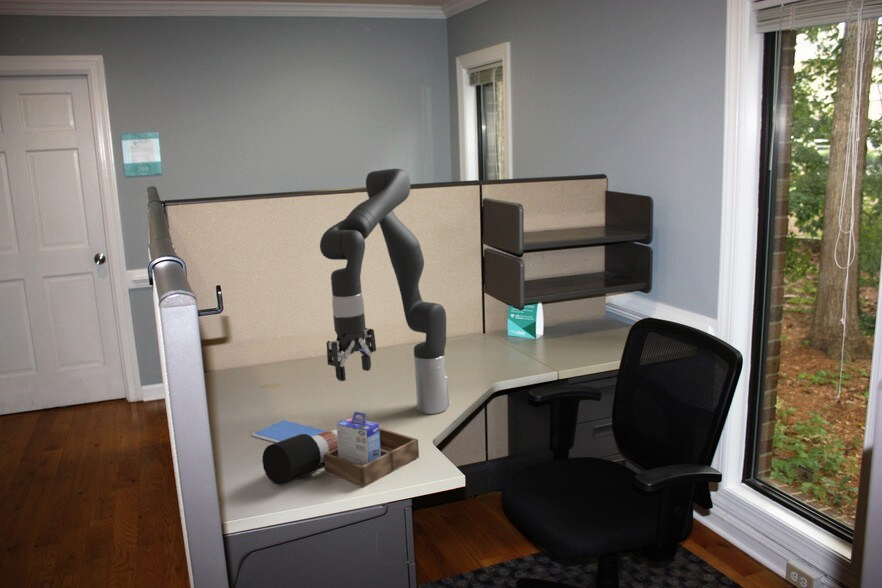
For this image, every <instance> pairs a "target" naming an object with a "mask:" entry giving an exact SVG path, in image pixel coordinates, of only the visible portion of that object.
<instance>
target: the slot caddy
mask: <svg viewBox="0 0 882 588" xmlns="http://www.w3.org/2000/svg"><path fill="white" fill-rule="evenodd" d="M379 434H380V451H381V457H379V458H377V459H375V460H373V461H371V462H369V463H367V464H365V465H363V466H361V465H358V464H355V463H353V462H350V461H347V460H344V459H341V458H339V457H338V448H336V449H334V450H332V451H330V452H328V453H326V454H324V458H325V462H324V467H325V473H326V474H328V475H329V476H333V477H335V478H336V477H337V478H338V479H341V480H343V481H345V482H346V481H347V482H349V483H351V484H353V485H357V486H359V487H362V488H365V487H367V486H369V485H370V484H373V483H375V482H376V481H378V480H379V479H382V478H384V477H386V476H388V475H389V474H391V473H393V472H395V471H397V470H399V469H400V468H402V467H405V466H406V465H408V464H409V463H412V462H413V461H415V460H417V459H419V458H420V451H419V450H420V449H419V448H420V446H419V438H415V437H412V436H411V437H410V436H407V435H405V434H402V433H398V432H396V431H391V430H389V429H386V428H383V427H382V428H381V427H379Z"/></svg>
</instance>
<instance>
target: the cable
mask: <svg viewBox="0 0 882 588" xmlns="http://www.w3.org/2000/svg"><path fill="white" fill-rule="evenodd" d="M336 448H338V441H337V428H335V429H331V430H326V432H323V433H321V434H318V435H315V436H312V437H311V436H309V435H307V434H300V435H297V436H294V437H291V438H288V439H285V440H283V441H280V442H277V443H276V442H273V443H272V444H269V445H267V446H266V447H265V448H264V451H263V453H262V459H261V460H262V467H263V470H264V471H263V472H264V473H265V475H266V477H267V478H268V480H270V481H271V482H272V483H273V484H275V485H278V486H283V485H285V484H288V483H291V482H292V481H295V480H299V479H300V478H303V477H305V476H308V475H310V474H313V473H314V472H316V471H317V470H318V469H319V468H320V465H321V463H324V464H325V458H324V454H326V453H328V452H330V451H332V450H334V449H336Z"/></svg>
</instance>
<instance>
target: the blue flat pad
mask: <svg viewBox="0 0 882 588" xmlns="http://www.w3.org/2000/svg"><path fill="white" fill-rule="evenodd" d="M326 431H327V430H325V429H321V428H317V427H313V426H309V425H305V424H302V423H298V422H294V421H289V420H285V419H283V420H282V419H281V420H280V421H278V422H276V423H273V424H271V425H269V426H266V427H264V428H262V429H260V430H258V431H256V432H254V433H252V437H254V438H258V439H262V440H265V441H269V442H272V443H277V442H280V441H283V440H285V439H288V438H291V437H294V436H297V435H300V434H307V435H309V436H311V437H312V436H315V435H318V434H321V433H323V432H326Z"/></svg>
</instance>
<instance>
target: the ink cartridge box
mask: <svg viewBox="0 0 882 588" xmlns="http://www.w3.org/2000/svg"><path fill="white" fill-rule="evenodd" d="M356 416H360V417H362V419H361V418H357V417H356ZM366 417H367V413H363V412H359V411H354V413H353V415H352V418H350V417H348V418H346V419H343V420H342V421H341V422H338V423H336V426H335V427H336V429H337V441H338V457H339V458H341V459H344V460H347V461H350V462H353V463H355V464H358V465H361V466H363V465H365V464H367V463H369V462H371V461H373V460H375V459H377V458H379V457H381V451H380V434H379V428H380V423H379V422H373V421H369V420H366Z"/></svg>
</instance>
